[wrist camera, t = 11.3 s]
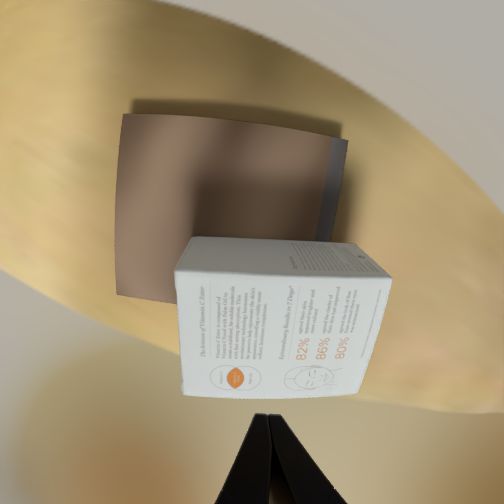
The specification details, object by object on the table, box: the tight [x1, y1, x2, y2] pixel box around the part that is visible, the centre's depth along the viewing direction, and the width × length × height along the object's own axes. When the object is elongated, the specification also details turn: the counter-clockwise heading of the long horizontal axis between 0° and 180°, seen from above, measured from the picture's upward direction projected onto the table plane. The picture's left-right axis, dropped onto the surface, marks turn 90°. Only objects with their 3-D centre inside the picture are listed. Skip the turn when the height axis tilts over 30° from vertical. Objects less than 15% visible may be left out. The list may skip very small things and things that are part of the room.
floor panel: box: [115, 114, 348, 304], centre depth 19 cm, size 14×12×2 cm
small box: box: [174, 236, 392, 399], centre depth 17 cm, size 8×6×10 cm
